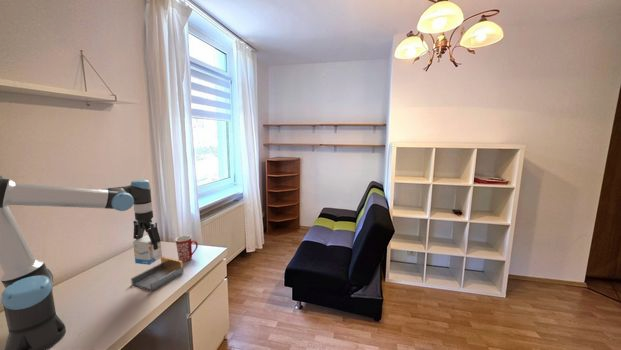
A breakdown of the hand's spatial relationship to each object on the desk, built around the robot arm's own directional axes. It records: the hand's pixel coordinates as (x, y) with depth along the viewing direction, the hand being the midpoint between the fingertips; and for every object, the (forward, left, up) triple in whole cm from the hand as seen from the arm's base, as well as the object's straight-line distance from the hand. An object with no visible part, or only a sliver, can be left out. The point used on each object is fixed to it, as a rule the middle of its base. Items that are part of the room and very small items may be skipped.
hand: (148, 253), depth 127 cm
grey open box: (+4, 0, -16) cm, 16 cm away
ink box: (0, 0, -4) cm, 4 cm away
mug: (+26, +3, -16) cm, 31 cm away
